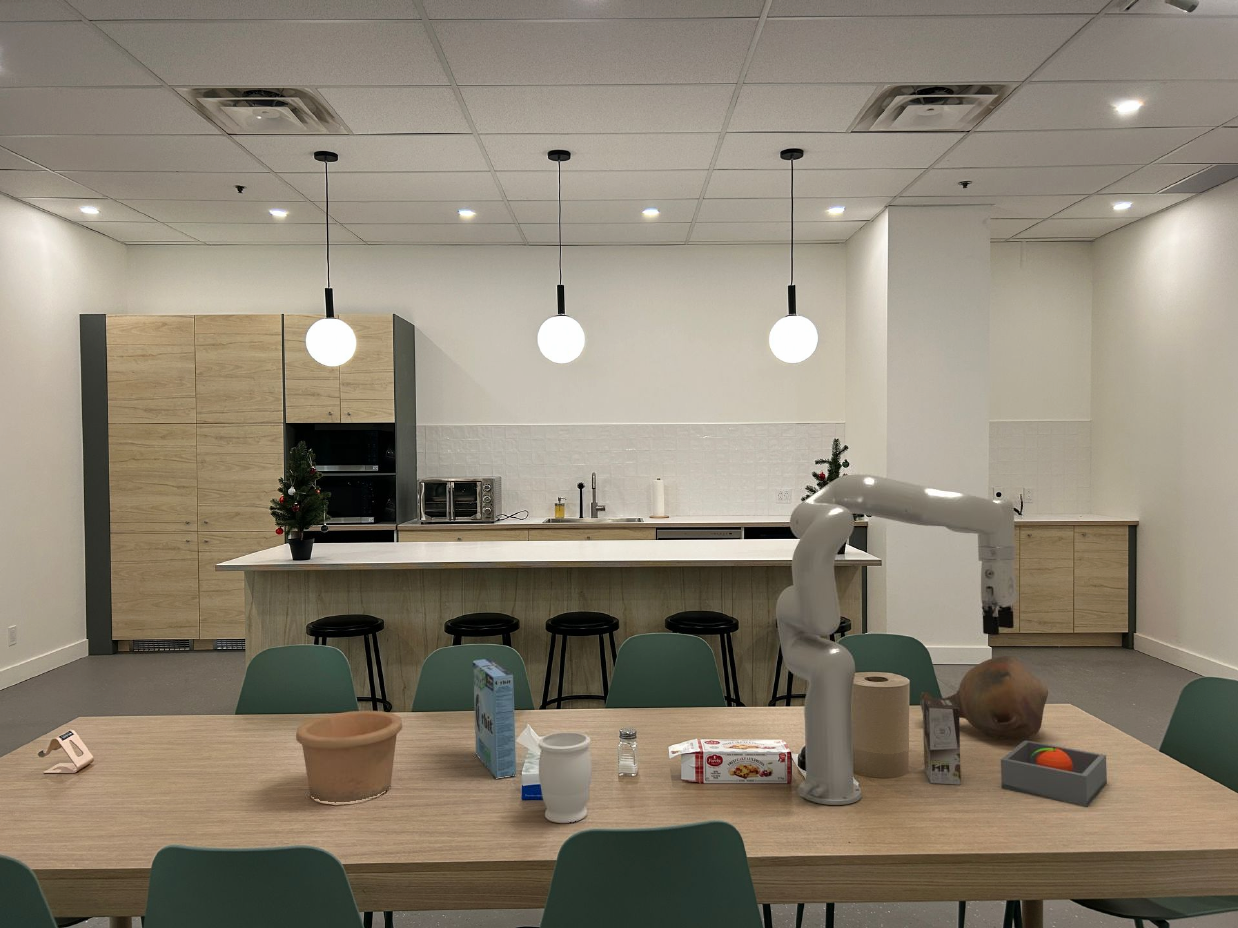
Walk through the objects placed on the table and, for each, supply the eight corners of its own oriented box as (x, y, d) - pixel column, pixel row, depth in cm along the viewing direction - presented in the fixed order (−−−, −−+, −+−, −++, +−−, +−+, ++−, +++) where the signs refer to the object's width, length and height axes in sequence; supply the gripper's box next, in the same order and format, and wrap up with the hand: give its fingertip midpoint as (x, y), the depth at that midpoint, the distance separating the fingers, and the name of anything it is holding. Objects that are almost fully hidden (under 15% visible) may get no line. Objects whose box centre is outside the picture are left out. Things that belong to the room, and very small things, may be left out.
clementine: (1033, 786, 175) (1032, 751, 175) (1028, 774, 181) (1027, 741, 181) (1077, 789, 172) (1076, 754, 172) (1069, 777, 179) (1068, 743, 179)
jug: (1064, 736, 209) (942, 736, 227) (1051, 655, 215) (932, 661, 233) (1043, 740, 194) (914, 740, 212) (1029, 652, 199) (905, 660, 217)
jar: (572, 830, 160) (570, 750, 161) (528, 819, 166) (527, 742, 166) (602, 810, 169) (601, 735, 170) (560, 801, 175) (559, 728, 175)
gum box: (516, 776, 190) (514, 674, 190) (494, 780, 188) (492, 676, 188) (494, 751, 208) (492, 657, 208) (474, 754, 206) (472, 659, 206)
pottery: (278, 793, 183) (277, 726, 183) (370, 766, 199) (368, 704, 199) (328, 819, 168) (327, 747, 168) (423, 788, 184) (421, 721, 184)
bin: (1087, 807, 166) (1086, 776, 166) (1001, 788, 177) (1000, 759, 177) (1106, 783, 178) (1106, 754, 178) (1025, 767, 188) (1024, 740, 188)
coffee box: (962, 785, 179) (960, 708, 179) (930, 783, 180) (928, 707, 180) (954, 770, 188) (952, 697, 188) (923, 768, 189) (921, 696, 189)
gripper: (1001, 558, 180) (1003, 639, 180) (1026, 551, 193) (1028, 626, 193) (965, 556, 185) (967, 635, 185) (992, 550, 198) (994, 623, 198)
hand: (998, 630), depth 189 cm, fingers open, 9 cm apart
